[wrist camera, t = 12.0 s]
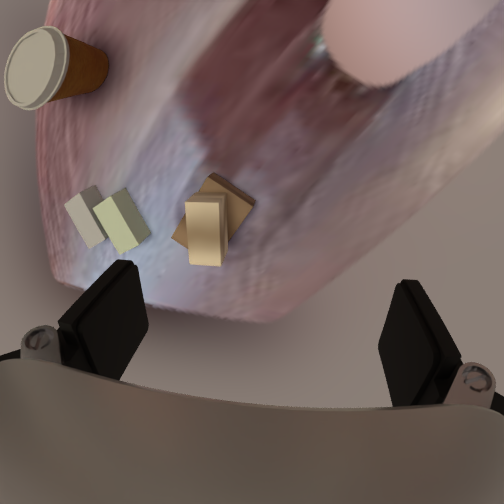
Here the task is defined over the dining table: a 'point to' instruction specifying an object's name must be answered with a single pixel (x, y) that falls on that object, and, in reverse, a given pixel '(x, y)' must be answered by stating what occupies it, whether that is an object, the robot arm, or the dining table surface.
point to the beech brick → (207, 228)
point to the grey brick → (87, 216)
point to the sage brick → (122, 221)
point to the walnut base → (236, 207)
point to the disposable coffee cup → (52, 68)
